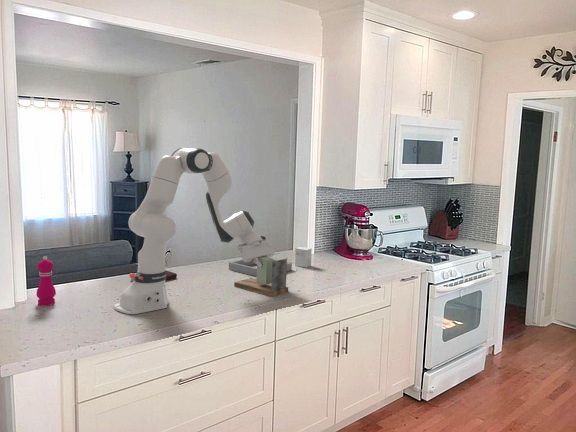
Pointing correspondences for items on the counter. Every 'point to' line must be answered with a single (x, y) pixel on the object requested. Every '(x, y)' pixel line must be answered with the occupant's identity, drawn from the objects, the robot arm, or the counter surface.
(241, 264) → the gray square frame
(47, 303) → the pepper mill
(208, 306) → the counter surface
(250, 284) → the bookend
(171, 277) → the book
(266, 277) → the sage green box
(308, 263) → the small box
